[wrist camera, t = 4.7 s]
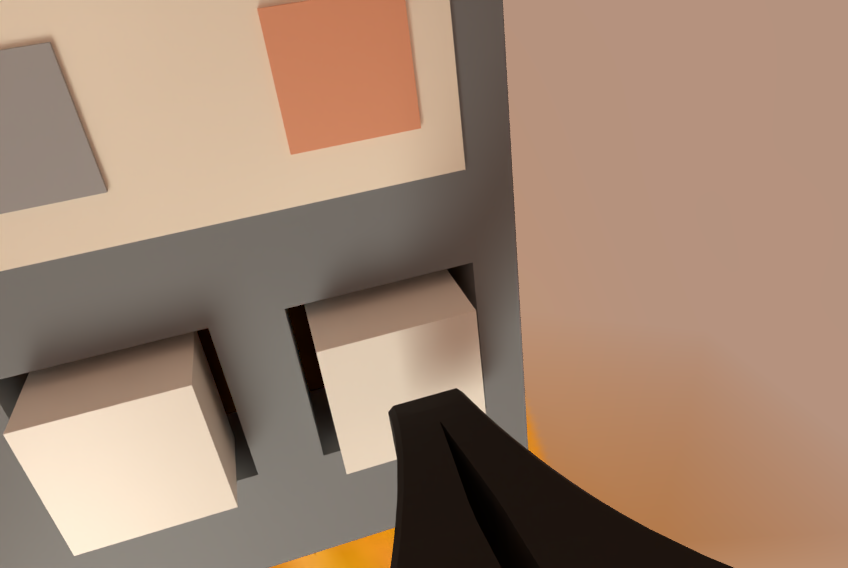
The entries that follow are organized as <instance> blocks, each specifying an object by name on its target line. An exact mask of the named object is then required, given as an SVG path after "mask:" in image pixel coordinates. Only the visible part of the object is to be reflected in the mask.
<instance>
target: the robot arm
mask: <svg viewBox="0 0 848 568" xmlns="http://www.w3.org/2000/svg"><path fill="white" fill-rule="evenodd" d="M388 415H389V420H390V425H391V430H392V436H393V441H394V446H395V451H396V456H397V507H396V521H395V535H394V544H393V553H392V561H391V568H733V567H731V566H728V565H726V564H723V563H721V562H719V561H716V560H714V559H711V558H709V557H707V556H704V555H702V554H700V553H698V552H696V551H694V550H692V549H690V548H688V547H685V546H683V545H681V544H679V543H677V542H675V541H673V540H671V539H669V538H667V537H665V536H663V535H661V534H659V533H656V532H654V531H652V530H650V529H649V528H647V527H645V526H643V525H641V524H639V523H638V522H636V521H634V520H632V519H630V518H628V517H627V516H625V515H623V514H621V513H619V512H618V511H616V510H615V509H613V508H611V507H610V506H608V505H606V504H605V503H603V502H601V501H599V500H598V499H596V498H595V497H593V496H592V495H590V494H589V493H587V492H586V491H584V490H582V489H581V488H579V487H578V486H577V485H575V484H573V483H572V482H571V481H569V480H568V479H566V478H565V477H564V476H562V475H561V474H559V473H558V472H557V471H555V470H554V469H552V468H551V467H550V466H548V465H547V464H546V463H544V462H543V461H542V460H540V459H539V458H538V457H536V456H535V455H534V454H533V453H531V452H530V451H529V450H528V449H526V448H525V447H524V446H523V445H521V444H520V443H519V442H518V441H516V440H515V439H514V438H513V437H511V436H510V435H509V434H508V433H507V432H505V431H504V430H503V429H502V428H501V427H500V426H499V425H497V424H496V423H495V422H494V421H493V420H492V419H491V418H489V417H488V416H487V415H486V414H485V413H484V412H483V411H482V410H481V409H480V408H479V407H478V406H477V405H475V404H474V403H473V402H472V401H471V400H470V399H469V398H468V397H467V396H466V395H465V394H464V393H463V392H462V391H460V390H459V389H457V388H455V389H451V390H448V391H444V392H440V393H437V394H433V395H430V396H426V397H423V398H419V399H416V400H412V401H408V402H405V403H401V404H398V405H394V406H393V407H392V408H391V409H390V410H389V412H388Z"/></svg>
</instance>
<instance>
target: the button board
mask: <svg viewBox="0 0 848 568" xmlns="http://www.w3.org/2000/svg"><path fill="white" fill-rule="evenodd" d="M517 265H518V264H517V247H516V230H515V211H514V194H513V177H512V159H511V141H510V123H509V105H508V87H507V70H506V52H505V34H504V18H503V0H0V568H269V567H272V566H275V565H278V564H282V563H285V562H288V561H291V560H294V559H297V558H300V557H303V556H307V555H310V554H313V553H316V552H319V551H322V550H325V549H329V548H332V547H335V546H338V545H341V544H344V543H347V542H350V541H354V540H357V539H360V538H363V537H366V536H369V535H372V534H376V533H379V532H382V531H385V530H388V529H391V528H394V527H395V521H396V507H397V460H393V461H390V462H387V463H383V464H380V465H377V466H373V467H370V468H367V469H363V470H360V471H357V472H353V473H350V474H346V470H345V466H344V462H343V458H342V454H341V450H340V446H339V442H338V438H337V434H336V430H335V426H334V422H333V418H332V414H331V410H330V406H329V402H328V398H327V394H326V390H325V388H321V389H318V390H314V391H309V387H308V383H307V379H306V376H305V372H304V368H303V364H302V361H301V357H300V353H299V349H298V345H297V342H296V338H295V334H294V330H293V326H292V323H291V319H290V315H289V311H288V308H291V307H295V306H299V305H303V304H307V303H311V302H315V301H319V300H323V299H327V298H331V297H335V296H339V295H343V294H347V293H351V292H355V291H359V290H363V289H368V288H372V287H376V286H380V285H384V284H388V283H392V282H396V281H400V280H404V279H408V278H412V277H416V276H420V275H424V274H428V273H432V272H436V271H440V270H444V269H447V270H448V272H449V273H450V275H451V276H452V277H453V279H454V280H455V282H456V283H457V285H458V286H459V287H460V289H461V290H462V292H463V293H464V294H465V296H466V297H467V299H468V300H469V301H470V303H471V304H472V306H473V307H474V308H475V310H476V315H477V326H478V336H479V346H480V357H481V367H482V378H483V388H484V398H485V409H486V415H487V416H488V417H489V418H491V419H492V420H493V421H494V422H495V423H496V424H497V425H499V426H500V427H501V428H502V429H503V430H504V431H505V432H507V433H508V434H509V435H510V436H511V437H513V438H514V439H515V440H516V441H518V442H519V443H520V444H521V445H523V446H524V447H525V448H526V449H528V441H527V424H526V406H525V388H524V371H523V353H522V336H521V319H520V318H521V317H520V300H519V283H518V266H517ZM206 328H208V329H209V332H210V335H211V338H212V341H213V343H214V346H215V349H216V352H217V355H218V358H219V361H220V364H221V367H222V370H223V373H224V376H225V379H226V382H227V384H228V387H229V390H230V393H231V396H232V399H233V402H234V405H235V408H236V411H237V412H233V413H229V414H226V415H227V418H228V421H229V424H230V426H231V429H232V432H233V435H234V438H235V460H236V481H237V503H238V507H236V508H233V509H230V510H226V511H223V512H220V513H216V514H213V515H210V516H206V517H203V518H200V519H196V520H193V521H190V522H186V523H183V524H180V525H176V526H173V527H170V528H166V529H163V530H160V531H156V532H153V533H150V534H146V535H143V536H139V537H136V538H133V539H129V540H126V541H123V542H119V543H116V544H113V545H109V546H106V547H103V548H99V549H96V550H93V551H89V552H86V553H83V554H79V555H76V556H74V555H73V553H72V551H71V550H70V548H69V546H68V545H67V543H66V541H65V540H64V538H63V536H62V534H61V533H60V531H59V529H58V528H57V526H56V524H55V522H54V521H53V519H52V517H51V516H50V514H49V512H48V511H47V509H46V507H45V505H44V504H43V502H42V500H41V499H40V497H39V495H38V493H37V492H36V490H35V488H34V487H33V485H32V483H31V481H30V480H29V478H28V476H27V475H26V473H25V471H24V470H23V468H22V466H21V464H20V463H19V461H18V459H17V458H16V456H15V454H14V452H13V451H12V449H11V447H10V446H9V444H8V442H7V440H6V439H5V437H4V435H3V433H4V431H5V429H6V426H7V424H8V421H9V419H10V417H11V414H12V412H13V409H14V407H15V405H16V402H17V400H18V398H19V395H20V393H21V390H22V388H23V386H24V383H25V381H26V379H27V376H28V374H29V372H32V371H36V370H40V369H44V368H48V367H52V366H56V365H60V364H64V363H68V362H72V361H76V360H80V359H84V358H88V357H92V356H97V355H101V354H105V353H109V352H113V351H117V350H121V349H125V348H129V347H133V346H137V345H141V344H145V343H149V342H153V341H157V340H161V339H165V338H169V337H173V336H177V335H181V334H186V333H190V332H194V331H198V330H202V329H206Z"/></svg>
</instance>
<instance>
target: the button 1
mask: <svg viewBox="0 0 848 568" xmlns="http://www.w3.org/2000/svg"><path fill="white" fill-rule="evenodd" d="M304 306H305V310H306V314H307V318H308V322H309V326H310V330H311V334H312V338H313V342H314V346H315V350H316V354H317V358H318V362H319V366H320V370H321V374H322V378H323V382H324V386H325V390H326V394H327V398H328V402H329V406H330V410H331V414H332V418H333V422H334V426H335V430H336V434H337V438H338V442H339V446H340V450H341V454H342V458H343V462H344V466H345V470H346V474H350V473H353V472H357V471H360V470H363V469H367V468H370V467H373V466H377V465H380V464H383V463H387V462H390V461H393V460H397V456H396V451H395V446H394V441H393V436H392V430H391V425H390V420H389V415H388V412H389V410H390V409H391V408H392V407H393V406H394V405H398V404H401V403H405V402H408V401H412V400H416V399H419V398H423V397H426V396H430V395H433V394H437V393H440V392H444V391H448V390H451V389H455V388H457V389H459V390H460V391H462V392H463V393H464V394H465V395H466V396H467V397H468V398H469V399H470V400H471V401H472V402H473V403H474V404H475V405H477V406H478V407H479V408H480V409H481V410H482V411H483V412H484V413H485V414H486V409H485V398H484V388H483V378H482V367H481V357H480V346H479V336H478V326H477V315H476V310H475V308H474V307H473V306H472V304H471V303H470V301H469V300H468V299H467V297H466V296H465V294H464V293H463V292H462V290H461V289H460V287H459V286H458V285H457V283H456V282H455V280H454V279H453V277H452V276H451V275H450V273H449V272H448V270H447V269H444V270H440V271H436V272H432V273H428V274H424V275H420V276H416V277H412V278H408V279H404V280H400V281H396V282H392V283H388V284H384V285H380V286H376V287H372V288H368V289H363V290H359V291H355V292H351V293H347V294H343V295H339V296H335V297H331V298H327V299H323V300H319V301H315V302H311V303H307V304H304Z"/></svg>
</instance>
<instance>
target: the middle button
mask: <svg viewBox="0 0 848 568" xmlns="http://www.w3.org/2000/svg"><path fill="white" fill-rule="evenodd" d="M3 435H4V437H5V439H6V440H7V442H8V444H9V446H10V447H11V449H12V451H13V452H14V454H15V456H16V458H17V459H18V461H19V463H20V464H21V466H22V468H23V470H24V471H25V473H26V475H27V476H28V478H29V480H30V481H31V483H32V485H33V487H34V488H35V490H36V492H37V493H38V495H39V497H40V499H41V500H42V502H43V504H44V505H45V507H46V509H47V511H48V512H49V514H50V516H51V517H52V519H53V521H54V522H55V524H56V526H57V528H58V529H59V531H60V533H61V534H62V536H63V538H64V540H65V541H66V543H67V545H68V546H69V548H70V550H71V551H72V553H73V555H74V556H76V555H79V554H83V553H86V552H89V551H93V550H96V549H99V548H103V547H106V546H109V545H113V544H116V543H119V542H123V541H126V540H129V539H133V538H136V537H139V536H143V535H146V534H150V533H153V532H156V531H160V530H163V529H166V528H170V527H173V526H176V525H180V524H183V523H186V522H190V521H193V520H196V519H200V518H203V517H206V516H210V515H213V514H216V513H220V512H223V511H226V510H230V509H233V508H236V507H238V503H237V481H236V460H235V438H234V435H233V432H232V429H231V426H230V424H229V421H228V418H227V415H226V412H225V409H224V407H223V404H222V401H221V398H220V395H219V392H218V390H217V387H216V384H215V381H214V378H213V375H212V373H211V370H210V367H209V364H208V361H207V359H206V356H205V353H204V350H203V347H202V344H201V342H200V339H199V336H198V333H197V331H194V332H190V333H186V334H181V335H177V336H173V337H169V338H165V339H161V340H157V341H153V342H149V343H145V344H141V345H137V346H133V347H129V348H125V349H121V350H117V351H113V352H109V353H105V354H101V355H97V356H92V357H88V358H84V359H80V360H76V361H72V362H68V363H64V364H60V365H56V366H52V367H48V368H44V369H40V370H36V371H32V372H29V374H28V376H27V379H26V381H25V383H24V386H23V388H22V390H21V393H20V395H19V398H18V400H17V402H16V405H15V407H14V409H13V412H12V414H11V417H10V419H9V421H8V424H7V426H6V429H5V431H4V433H3Z"/></svg>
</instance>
